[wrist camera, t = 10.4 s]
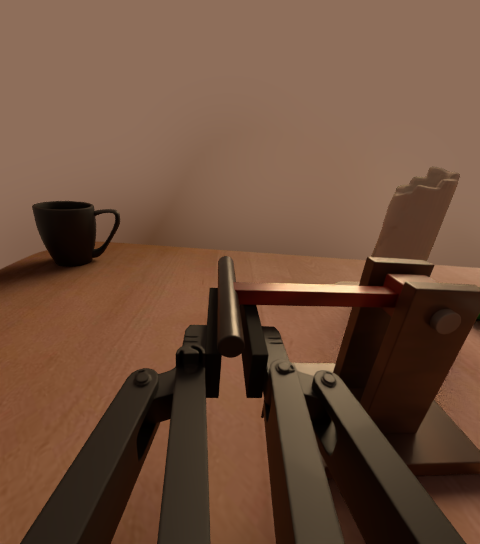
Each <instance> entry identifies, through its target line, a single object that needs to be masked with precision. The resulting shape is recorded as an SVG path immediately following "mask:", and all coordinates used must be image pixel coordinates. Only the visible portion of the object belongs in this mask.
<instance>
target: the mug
mask: <svg viewBox="0 0 480 544" xmlns="http://www.w3.org/2000/svg"><path fill="white" fill-rule="evenodd" d="M32 208H33V213H34V216H35V221H36V225H37V228H38V231H39V234H40V236H41V239H42V241H43V243H44V245H45V247H46V248H47V250H48V252H49V253H50V255H51V257H52V258H53V260H54V262H55V264H57V265H59V266H66V267H67V266H79V265H84V264H87V263H89V262H91V261H92V258H96V257H98V256H100V255H101V254H102V253H103V252H104V251H105V249H106V248H107V246H108V244H109V243H110V241H111V239H112V238H113V236H114V234H115V233H116V231H117V229H118V227H119V224H120V214H119V212H118V211H117V210H112V209H106V210H97V211H94V206H93V205H92V204H89V203H84V202H73V201H55V202H54V201H53V202H43V203H38V204H34V205H33V206H32ZM102 213H113V214H114V215H115V224H114V227H113V230H112V231H111V233H110V236H109V237H108V239H107V240H106V242H105V243H104V244H103V245H102V246H101V247H100V248H98V249H94V246H95V239H96V219H95V216H96V215H99V214H102Z"/></svg>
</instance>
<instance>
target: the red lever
mask: <svg viewBox="0 0 480 544" xmlns="http://www.w3.org/2000/svg"><path fill="white" fill-rule="evenodd" d="M406 281H408V282H428V283H438V282H437V281H435V280H433V279H431V278H429V277H428V276H426V275H410V274H387V275H386V278H385V281H384V284H383V286H353V285H318V284H283V283H248V282H236V278H235V270H234V263H233V260H232V259H231V258H230V257H228V256H224V257H222V258H220V259H219V261H218V319H217V349H218V351H219V353H220V354H221V355H223V356H225V357H229V358H232V357H236V356H238V355H240V354H241V353H242V352H243V350H244V348H245V343H244V335H243V328H242V321H241V314H240V306H239V305H288V306H337V307H381V308H382V309H383V310H384V311H385V312H386V313H388V314H389V315H390V316H391V317H392V315H393V312H394V309H395V307H396V304H397V301H398V299H399V296H400V293H401V291H402V288H403V285H404V283H405V282H406Z"/></svg>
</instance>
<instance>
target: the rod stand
mask: <svg viewBox="0 0 480 544" xmlns="http://www.w3.org/2000/svg"><path fill="white" fill-rule="evenodd" d="M433 267H434V265H433V264H431V263H429V262H427V261H425V260H412V259H395V258H378V257H367V260H366V263H365V266H364V270H363V273H362V276H361V280H360V283H359V286H383V284H384V281H385V278H386V275H387V274H410V275H426V276H428V277H430V275H431V272H432V270H433ZM479 313H480V287H478V286H476V285H469V284H448V283H428V282H408V281H406V282H405V283H404V285H403V288H402V291H401V293H400V296H399V299H398V301H397V304H396V307H395V309H394V312H393V315H392V317H391V316H390V315H389V314H388V313H386V312H385V311H384V310H383V309H382V308H381V307H352V310H351V313H350V317H349V320H348V324H347V327H346V330H345V334H344V337H343V340H342V344H341V347H340V351H339V354H338V357H337V361H336V363H292V364H294V365H295V367H296V369H297V370H298V371H300V372H302V373H305V374H309V375H312V376H314V374H315V373H316V372H317V371H320V370H327V371H331V372H333V373H335V374H336V375H338V376H339V377H340V378H341V380H342V381H343V382H344V383H345V385H346V386H347V387H348V389H349V390H350V391H351V393H352V394H353V395H354V397H355V398H356V399H357V401H358V402H359V403H360V405H361V406H362V407H363V408H364V410H365V411H366V412H367V414H368V415H369V416H370V418H371V419H372V420H373V422H374V423H375V424H376V426H377V427H378V428H379V430H380V431H381V432H382V433H383V435H384V436H385V437H386V439H387V440H388V441H389V443H390V444H391V445H392V447H393V448H394V449H395V451H396V452H397V453H398V455H399V456H400V457H401V458H402V460H403V461H404V462H405V464H406V465H407V466H408V468H409V469H410V470H411V472H412V473H413V474H414V476H425V475H454V474H480V450H479V449H478V448H477V447H476V446H475V445H474V444H473V443H472V441H471V440H470V439H469V438H468V437H467V436H466V435H465V434H464V433H463V431H462V430H461V429H460V428H459V427H458V426H457V425H456V424H455V423H454V421H453V420H452V419H451V418H450V417H449V416H448V415H447V414H446V413H445V411H444V410H443V409H442V408H441V407H440V406H439V405H438V404H437V403H436V401H435V400H434V399H435V397H436V395H437V393H438V391H439V389H440V387H441V385H442V383H443V382H444V380H445V378H446V376H447V374H448V372H449V370H450V368H451V366H452V364H453V363H454V361H455V359H456V357H457V355H458V353H459V351H460V349H461V347H462V345H463V344H464V342H465V340H466V338H467V336H468V334H469V332H470V330H471V328H472V326H473V325H474V323H475V321H476V319H477V317H478V315H479ZM320 455H321V453H320ZM321 459H322V462H323V466H324V469H325V473H326V477H327V479H333V477H332V475H331V473H330V471H329V469H328V467H327V465H326V463H325V461H324V459H323V457H322V455H321Z"/></svg>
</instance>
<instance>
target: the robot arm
mask: <svg viewBox="0 0 480 544" xmlns="http://www.w3.org/2000/svg"><path fill="white" fill-rule="evenodd" d="M240 314H241V321H242V328H243V335H244V343H245V348H244V350H243V352H242V361H243V369H244V378H245V387H246V396H247V398H262V393H263V394H264V404H263V410H262V416H261V418H264V421H265V432H266V442H267V453H268V463H269V474H270V484H271V495H272V506H273V516H274V527H275V537H276V544H345V542H344V538H343V535H342V531H341V528H340V524H339V520H338V517H337V513H336V509H335V506H334V502H333V498H332V495H331V491H330V488H329V484H328V480H327V477H326V473H325V469H324V466H323V462H322V459H321V455H322V457H323V459H324V461H325V463H326V465H327V467H328V469H329V471H330V473H331V475H332V477H333V479H334V481H335V483H336V485H337V487H338V489H339V491H340V493H341V495H342V496H343V498H344V500H345V502H346V504H347V506H348V508H349V510H350V512H351V514H352V516H353V518H354V520H355V522H356V524H357V526H358V528H359V530H360V532H361V534H362V536H363V538H364V540H365V542H366V544H466V543H465V541H464V540H463V539H462V537H461V536H460V535H459V533H458V532H457V531H456V530H455V528H454V527H453V526H452V524H451V523H450V522H449V520H448V519H447V518H446V516H445V515H444V514H443V512H442V511H441V510H440V508H439V507H438V506H437V505H436V503H435V502H434V501H433V499H432V498H431V497H430V495H429V494H428V493H427V491H426V490H425V489H424V487H423V486H422V485H421V483H420V482H419V481H418V480H417V478H416V477H415V476H414V474H413V473H412V472H411V470H410V469H409V468H408V466H407V465H406V464H405V462H404V461H403V460H402V458H401V457H400V456H399V455H398V453H397V452H396V451H395V449H394V448H393V447H392V445H391V444H390V443H389V441H388V440H387V439H386V437H385V436H384V435H383V433H382V432H381V431H380V430H379V428H378V427H377V426H376V424H375V423H374V422H373V420H372V419H371V418H370V416H369V415H368V414H367V412H366V411H365V410H364V408H363V407H362V406H361V405H360V403H359V402H358V401H357V399H356V398H355V397H354V395H353V394H352V393H351V391H350V390H349V389H348V387H347V386H346V385H345V383H344V382H343V381H342V380H341V378H340V377H339V376H338V375H336V374H335V373H333V372H331V371H327V370H320V371H317V372H316V373H315V374H314V376H312V375H309V374H305V373H302V372H300V371H298V370H297V369H296V367H295V365H294V364H292V363H291V362H289V359H288V356H287V353H286V350H285V347H284V344H283V341H282V339H281V336H280V333H279V331H278V330H277V329H276V328H275V327H266V326H261V322H260V318H259V315H258V311H257V307H256V305H240ZM217 319H218V288H210V292H209V306H208V319H207V325H190V326H189V327H188V328H187V329H186V330H185V335H184V340H183V345H182V347H180V348H179V349H178V350H177V352H176V367H175V368H174V369H172V370H170V371H168V372H165V373H161V374H158V373H157V372H156V371H155V370H152V369H149V368H143V369H140V370H137V371H135V372H133V373H132V374H131V375H130V376H129V377H128V378H127V379H126V381H125V383H124V384H123V386H122V387H121V389H120V390H119V392H118V393H117V395H116V396H115V398H114V400H113V401H112V403H111V404H110V406H109V407H108V409H107V410H106V412H105V413H104V415H103V417H102V418H101V420H100V421H99V423H98V424H97V426H96V427H95V429H94V430H93V432H92V433H91V435H90V437H89V438H88V440H87V441H86V443H85V444H84V446H83V447H82V449H81V450H80V452H79V454H78V455H77V457H76V458H75V460H74V461H73V463H72V464H71V466H70V467H69V469H68V470H67V472H66V474H65V475H64V477H63V478H62V480H61V481H60V483H59V484H58V486H57V487H56V489H55V491H54V492H53V494H52V495H51V497H50V498H49V500H48V501H47V503H46V504H45V506H44V507H43V509H42V511H41V512H40V514H39V515H38V517H37V518H36V520H35V521H34V523H33V524H32V526H31V528H30V529H29V531H28V532H27V534H26V535H25V537H24V538H23V540H22V541H21V543H20V544H111V542H112V539H113V537H114V534H115V532H116V529H117V527H118V524H119V522H120V520H121V517H122V515H123V512H124V510H125V507H126V505H127V502H128V500H129V498H130V495H131V493H132V490H133V488H134V485H135V483H136V480H137V478H138V476H139V473H140V471H141V468H142V466H143V463H144V461H145V458H146V456H147V454H148V451H149V449H150V446H151V444H152V441H153V439H154V436H155V434H156V432H157V429H158V427H159V424H160V422H162V421H165V420H168V419H171V420H170V429H169V438H168V447H167V457H166V466H165V475H164V485H163V494H162V503H161V513H160V522H159V531H158V541H157V544H210V515H209V483H208V450H207V418H206V398H218V396H219V383H220V370H221V357H222V355H221V354H220V353H219V351H218V349H217ZM320 453H321V455H320Z"/></svg>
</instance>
